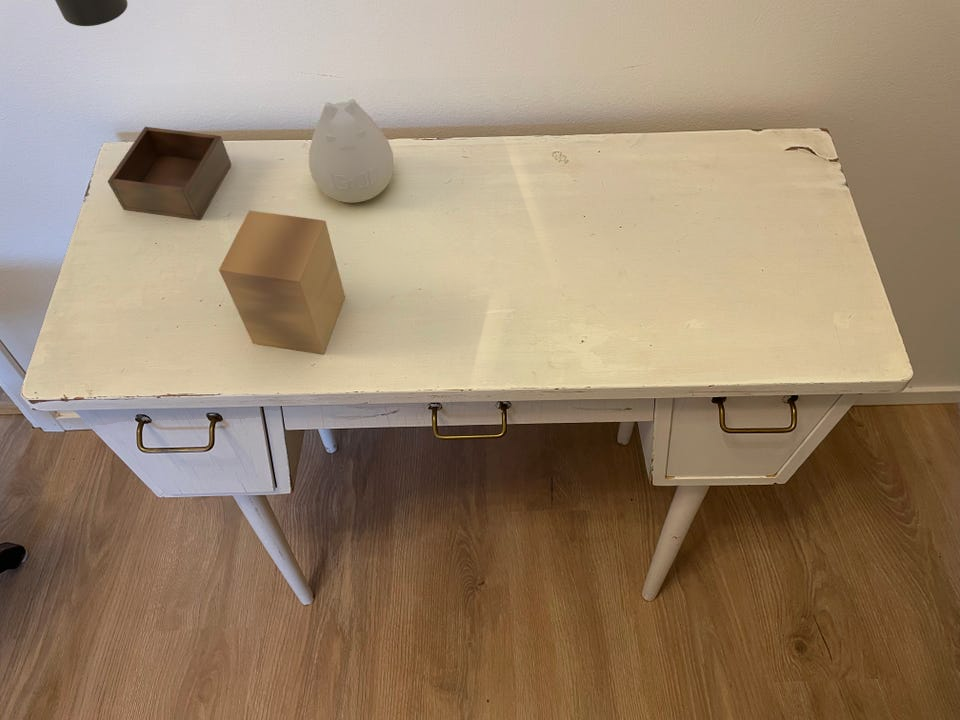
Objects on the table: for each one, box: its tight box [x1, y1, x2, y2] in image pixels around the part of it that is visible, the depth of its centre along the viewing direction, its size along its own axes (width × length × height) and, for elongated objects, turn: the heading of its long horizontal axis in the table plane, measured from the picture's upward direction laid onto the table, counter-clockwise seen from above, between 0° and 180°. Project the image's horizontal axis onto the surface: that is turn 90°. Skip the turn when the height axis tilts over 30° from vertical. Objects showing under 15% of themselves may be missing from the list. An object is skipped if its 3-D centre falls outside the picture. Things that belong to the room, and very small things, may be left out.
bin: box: [107, 126, 232, 221], centre depth 90 cm, size 10×10×5 cm
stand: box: [218, 210, 346, 355], centre depth 75 cm, size 8×8×12 cm
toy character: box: [308, 98, 395, 204], centre depth 87 cm, size 10×10×12 cm
